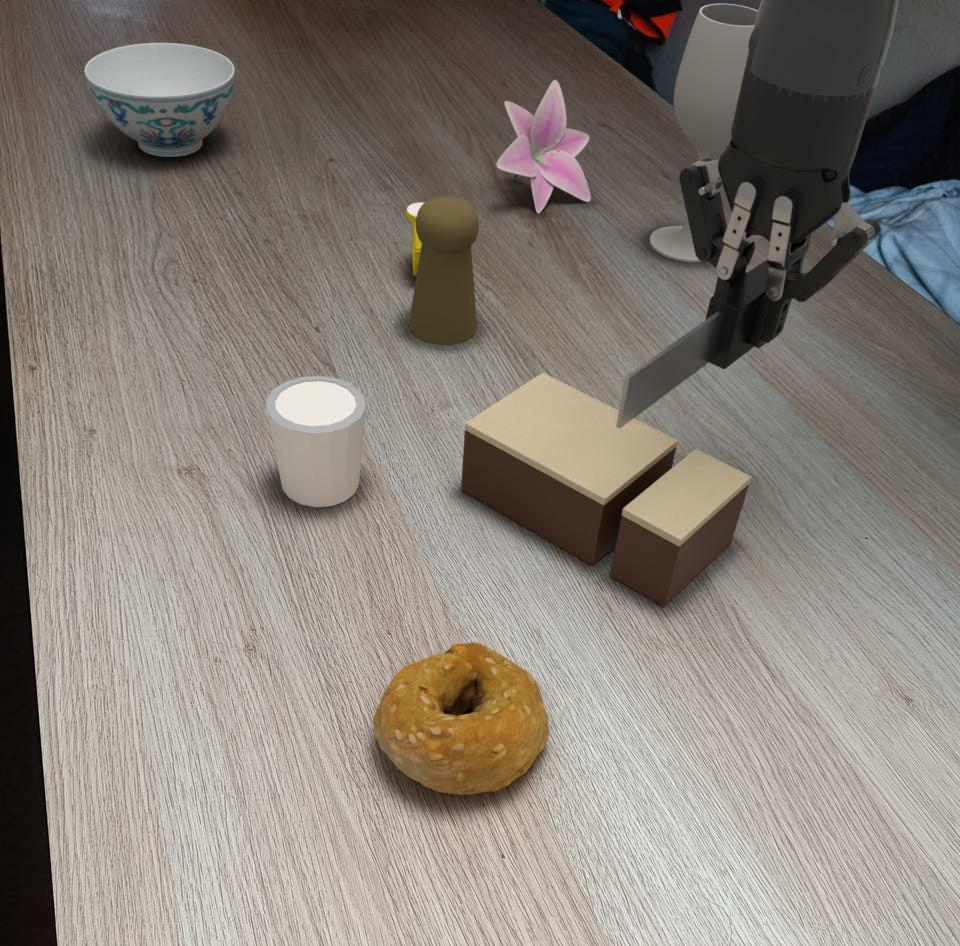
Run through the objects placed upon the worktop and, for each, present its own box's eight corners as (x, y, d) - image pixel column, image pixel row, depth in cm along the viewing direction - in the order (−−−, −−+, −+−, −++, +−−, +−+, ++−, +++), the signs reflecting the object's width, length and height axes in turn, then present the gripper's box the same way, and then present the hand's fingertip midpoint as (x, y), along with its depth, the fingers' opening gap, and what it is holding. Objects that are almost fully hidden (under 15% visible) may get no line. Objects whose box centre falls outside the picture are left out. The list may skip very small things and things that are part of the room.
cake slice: (678, 515, 81) (695, 448, 77) (731, 543, 79) (751, 476, 75) (609, 576, 76) (622, 508, 72) (663, 607, 74) (681, 540, 70)
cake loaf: (534, 438, 86) (542, 372, 82) (662, 506, 81) (678, 439, 77) (460, 490, 81) (464, 422, 77) (592, 566, 76) (605, 498, 72)
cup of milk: (253, 479, 81) (244, 398, 76) (327, 443, 84) (323, 363, 79) (312, 525, 78) (307, 444, 72) (386, 486, 81) (386, 406, 76)
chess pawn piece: (400, 336, 95) (401, 213, 87) (419, 302, 99) (422, 182, 91) (467, 349, 95) (475, 226, 87) (484, 314, 99) (492, 194, 91)
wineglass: (683, 220, 114) (729, -5, 99) (738, 250, 110) (795, 21, 95) (631, 239, 111) (671, 8, 95) (687, 270, 107) (737, 35, 92)
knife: (755, 314, 79) (771, 255, 75) (782, 325, 78) (799, 267, 74) (602, 425, 68) (612, 363, 65) (631, 441, 67) (643, 378, 64)
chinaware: (215, 182, 114) (206, 104, 108) (75, 163, 114) (59, 85, 109) (258, 126, 124) (252, 52, 118) (130, 109, 125) (118, 35, 119)
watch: (404, 254, 106) (405, 193, 101) (433, 254, 106) (435, 193, 102) (406, 285, 101) (407, 223, 97) (436, 286, 102) (438, 224, 97)
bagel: (585, 730, 66) (596, 677, 63) (462, 841, 60) (466, 789, 57) (463, 644, 70) (467, 590, 67) (337, 740, 64) (334, 687, 61)
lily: (472, 221, 113) (515, 154, 105) (462, 132, 117) (502, 61, 109) (572, 247, 119) (621, 185, 111) (559, 161, 123) (604, 96, 115)
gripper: (953, 84, 62) (858, 353, 75) (741, 19, 68) (685, 279, 80) (897, 119, 58) (805, 397, 71) (676, 46, 64) (628, 316, 76)
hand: (742, 333), depth 75 cm, fingers closed on knife, 2 cm apart
